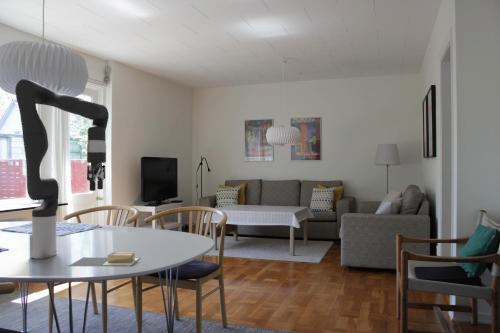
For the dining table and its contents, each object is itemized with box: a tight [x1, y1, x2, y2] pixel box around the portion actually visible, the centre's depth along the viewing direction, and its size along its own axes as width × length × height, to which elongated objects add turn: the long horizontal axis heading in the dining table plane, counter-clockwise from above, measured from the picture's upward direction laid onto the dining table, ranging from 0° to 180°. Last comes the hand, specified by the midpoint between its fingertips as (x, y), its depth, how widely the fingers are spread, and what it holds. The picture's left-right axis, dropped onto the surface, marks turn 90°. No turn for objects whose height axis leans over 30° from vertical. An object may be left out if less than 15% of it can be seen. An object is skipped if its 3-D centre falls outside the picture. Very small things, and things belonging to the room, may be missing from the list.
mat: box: [68, 256, 142, 268], centre depth 164 cm, size 24×14×1 cm, turn 90°
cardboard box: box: [107, 251, 136, 263], centre depth 164 cm, size 5×9×3 cm, turn 90°
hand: (96, 190), depth 175 cm, fingers open, 8 cm apart
